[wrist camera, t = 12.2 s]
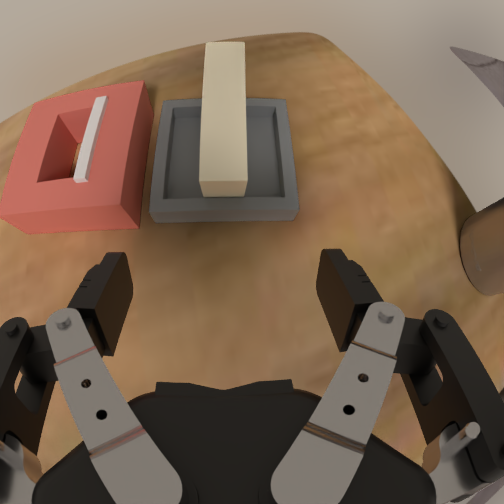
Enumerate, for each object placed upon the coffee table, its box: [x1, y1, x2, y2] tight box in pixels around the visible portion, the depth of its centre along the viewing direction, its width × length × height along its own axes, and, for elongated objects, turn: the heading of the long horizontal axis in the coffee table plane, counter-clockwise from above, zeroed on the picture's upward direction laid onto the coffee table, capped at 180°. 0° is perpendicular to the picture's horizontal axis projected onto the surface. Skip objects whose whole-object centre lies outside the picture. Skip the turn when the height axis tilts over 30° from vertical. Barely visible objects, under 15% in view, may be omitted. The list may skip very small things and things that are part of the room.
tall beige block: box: [199, 42, 248, 198], centre depth 21 cm, size 3×6×12 cm
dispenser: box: [0, 80, 154, 234], centre depth 22 cm, size 12×12×6 cm
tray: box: [149, 98, 299, 223], centre depth 24 cm, size 11×11×2 cm
